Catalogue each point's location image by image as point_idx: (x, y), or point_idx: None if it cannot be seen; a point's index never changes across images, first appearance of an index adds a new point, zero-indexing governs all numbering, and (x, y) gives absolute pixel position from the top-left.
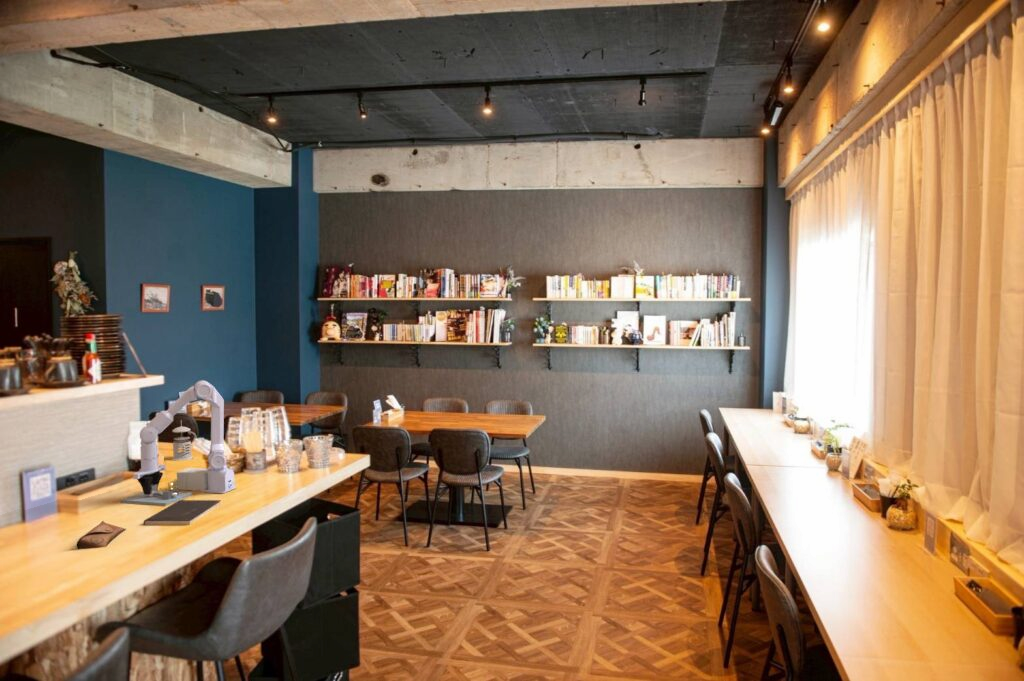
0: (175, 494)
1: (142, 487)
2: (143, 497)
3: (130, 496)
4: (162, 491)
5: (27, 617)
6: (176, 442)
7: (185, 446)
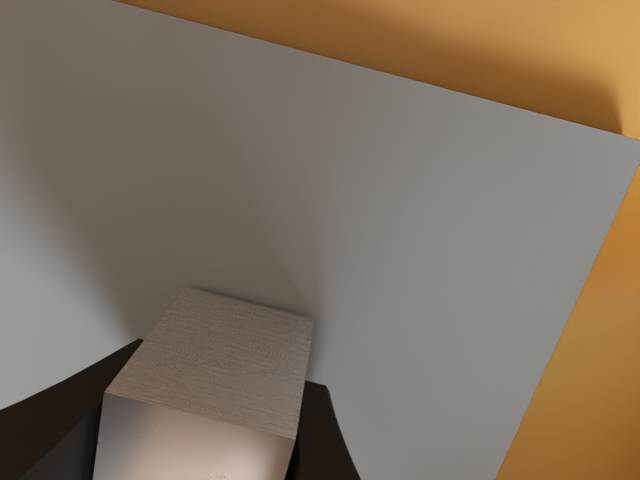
0: None
1: (42, 401)
2: (145, 304)
3: (192, 42)
4: (486, 431)
5: None
6: None
7: None
